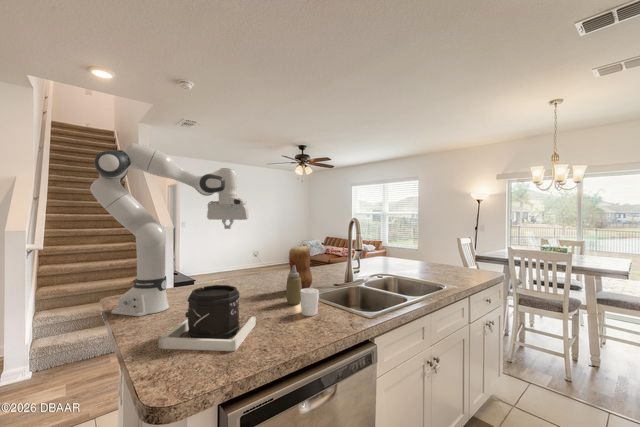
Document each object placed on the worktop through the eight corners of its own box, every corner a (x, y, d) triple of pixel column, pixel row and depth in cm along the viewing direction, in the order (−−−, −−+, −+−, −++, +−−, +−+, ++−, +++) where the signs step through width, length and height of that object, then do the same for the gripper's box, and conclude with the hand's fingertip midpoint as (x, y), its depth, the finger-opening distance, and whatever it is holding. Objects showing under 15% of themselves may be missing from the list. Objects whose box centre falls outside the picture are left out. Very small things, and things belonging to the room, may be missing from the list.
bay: (158, 348, 96) (158, 339, 96) (193, 322, 118) (193, 314, 118) (235, 351, 94) (235, 341, 94) (255, 324, 116) (255, 316, 116)
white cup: (321, 312, 131) (321, 289, 131) (313, 317, 124) (313, 293, 124) (305, 309, 134) (305, 287, 134) (297, 315, 127) (297, 291, 127)
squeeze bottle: (305, 303, 144) (306, 265, 144) (293, 306, 138) (293, 267, 138) (294, 299, 149) (294, 263, 149) (281, 303, 143) (282, 265, 143)
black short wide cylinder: (189, 327, 113) (189, 285, 113) (238, 322, 118) (238, 282, 118) (181, 348, 96) (181, 299, 96) (239, 341, 101) (239, 295, 101)
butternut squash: (282, 291, 165) (282, 245, 165) (301, 287, 174) (301, 244, 174) (298, 296, 155) (299, 248, 155) (317, 291, 164) (317, 246, 164)
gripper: (204, 200, 147) (204, 229, 147) (245, 200, 146) (245, 229, 146) (210, 201, 154) (210, 228, 154) (249, 201, 152) (249, 228, 152)
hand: (227, 228), depth 150 cm, fingers closed
